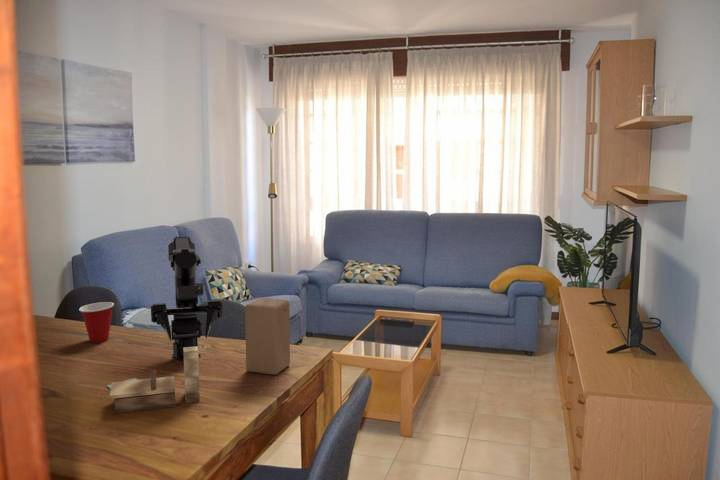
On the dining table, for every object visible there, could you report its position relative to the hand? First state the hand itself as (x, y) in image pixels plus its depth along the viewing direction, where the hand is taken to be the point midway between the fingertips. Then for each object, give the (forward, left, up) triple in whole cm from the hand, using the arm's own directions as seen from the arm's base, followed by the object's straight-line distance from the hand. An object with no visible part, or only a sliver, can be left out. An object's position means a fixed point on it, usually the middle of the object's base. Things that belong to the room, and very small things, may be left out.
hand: (188, 338), depth 162 cm
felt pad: (+12, -12, -13) cm, 22 cm away
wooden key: (+3, +7, -13) cm, 15 cm away
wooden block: (-24, +3, -14) cm, 28 cm away
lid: (+14, +2, -10) cm, 17 cm away
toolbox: (+11, +3, -13) cm, 17 cm away
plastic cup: (+1, -58, -14) cm, 60 cm away
